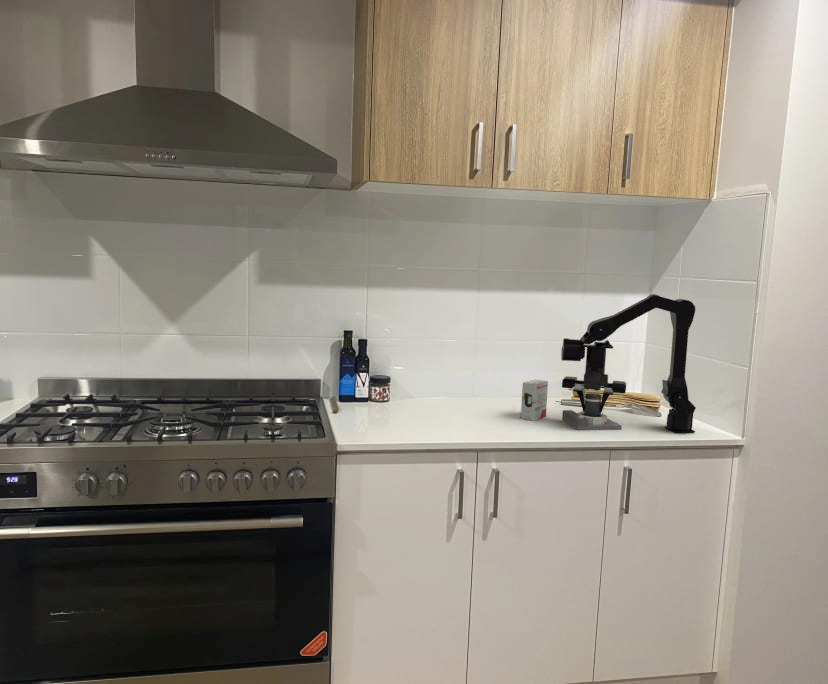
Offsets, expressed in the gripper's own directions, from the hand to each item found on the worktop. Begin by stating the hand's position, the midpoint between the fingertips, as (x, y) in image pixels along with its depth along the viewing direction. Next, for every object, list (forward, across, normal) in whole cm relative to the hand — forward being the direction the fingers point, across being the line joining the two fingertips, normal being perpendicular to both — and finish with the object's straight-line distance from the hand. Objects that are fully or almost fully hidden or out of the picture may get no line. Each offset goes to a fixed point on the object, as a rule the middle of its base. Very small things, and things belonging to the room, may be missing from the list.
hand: (592, 412), depth 206 cm
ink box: (+4, -18, +1) cm, 19 cm away
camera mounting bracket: (+4, 0, 0) cm, 4 cm away
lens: (+2, 0, 0) cm, 2 cm away
